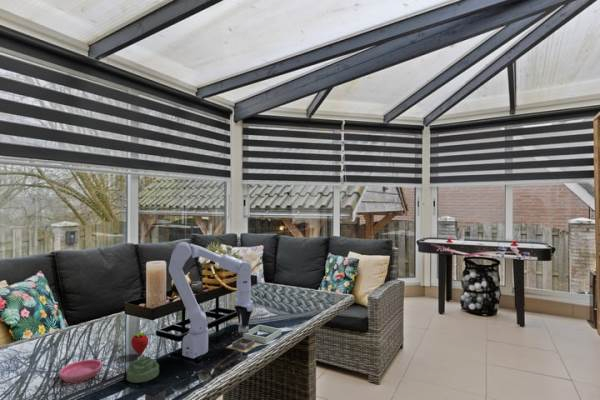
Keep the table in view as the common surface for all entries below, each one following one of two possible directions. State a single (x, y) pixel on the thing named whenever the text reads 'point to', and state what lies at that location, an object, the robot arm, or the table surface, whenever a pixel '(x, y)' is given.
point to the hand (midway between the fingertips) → (243, 324)
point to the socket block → (243, 345)
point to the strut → (243, 327)
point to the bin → (274, 331)
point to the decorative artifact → (142, 370)
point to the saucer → (80, 370)
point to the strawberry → (139, 342)
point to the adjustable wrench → (256, 314)
